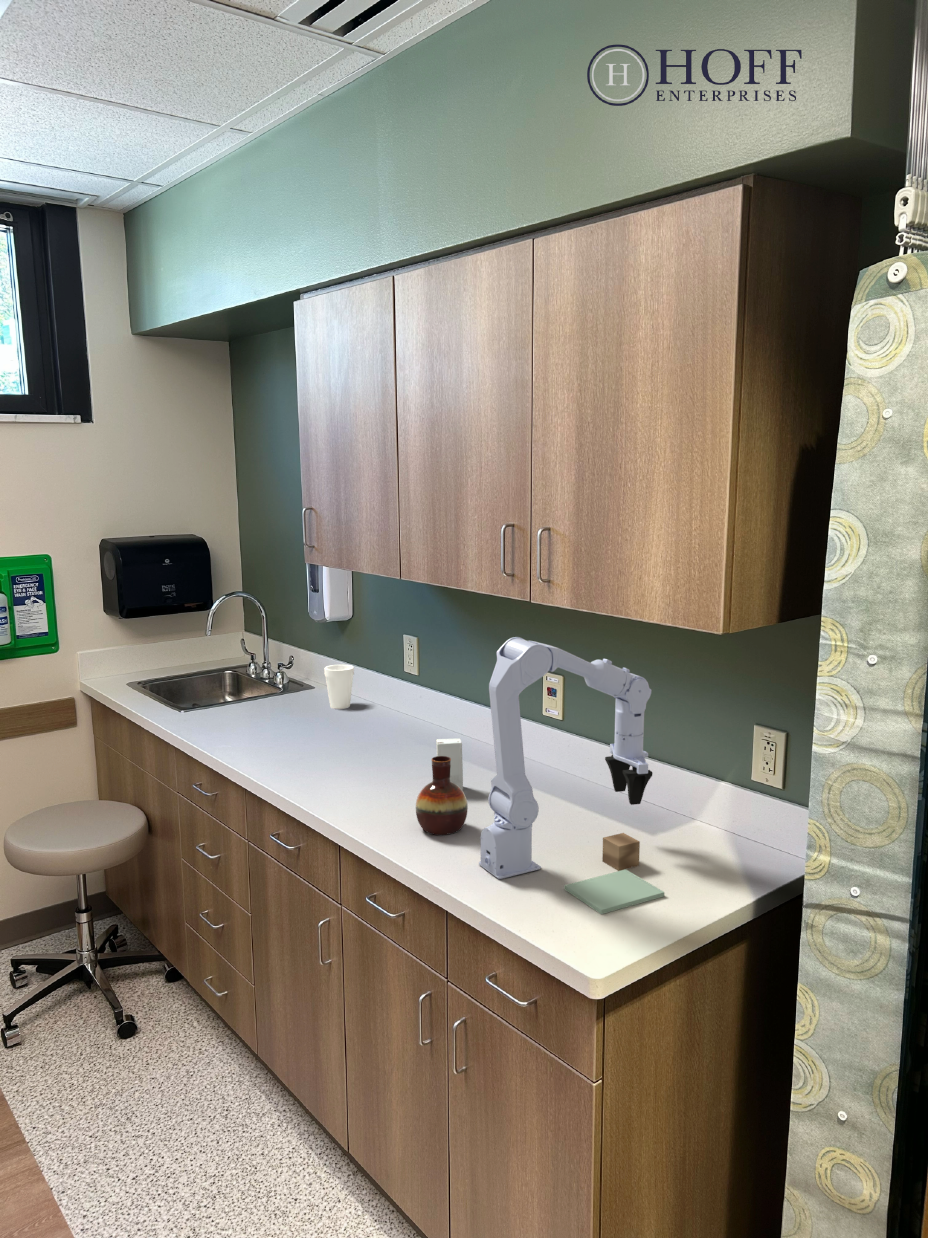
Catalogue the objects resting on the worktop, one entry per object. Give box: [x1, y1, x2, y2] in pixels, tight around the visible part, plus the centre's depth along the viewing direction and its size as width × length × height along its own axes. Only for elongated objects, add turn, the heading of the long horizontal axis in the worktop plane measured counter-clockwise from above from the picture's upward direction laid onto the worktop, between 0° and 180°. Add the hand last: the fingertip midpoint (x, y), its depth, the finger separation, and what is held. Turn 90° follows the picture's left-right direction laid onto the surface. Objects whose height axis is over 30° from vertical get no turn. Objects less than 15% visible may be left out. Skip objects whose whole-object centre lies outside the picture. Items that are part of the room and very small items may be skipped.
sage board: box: [563, 869, 665, 915], centre depth 166 cm, size 14×11×1 cm
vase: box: [415, 755, 469, 836], centre depth 196 cm, size 11×11×15 cm
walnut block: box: [601, 832, 641, 872], centre depth 179 cm, size 5×5×5 cm
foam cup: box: [323, 664, 355, 710], centre depth 300 cm, size 10×9×13 cm
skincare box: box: [435, 738, 464, 792], centre depth 221 cm, size 6×4×12 cm
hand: (627, 797), depth 187 cm, fingers open, 7 cm apart
